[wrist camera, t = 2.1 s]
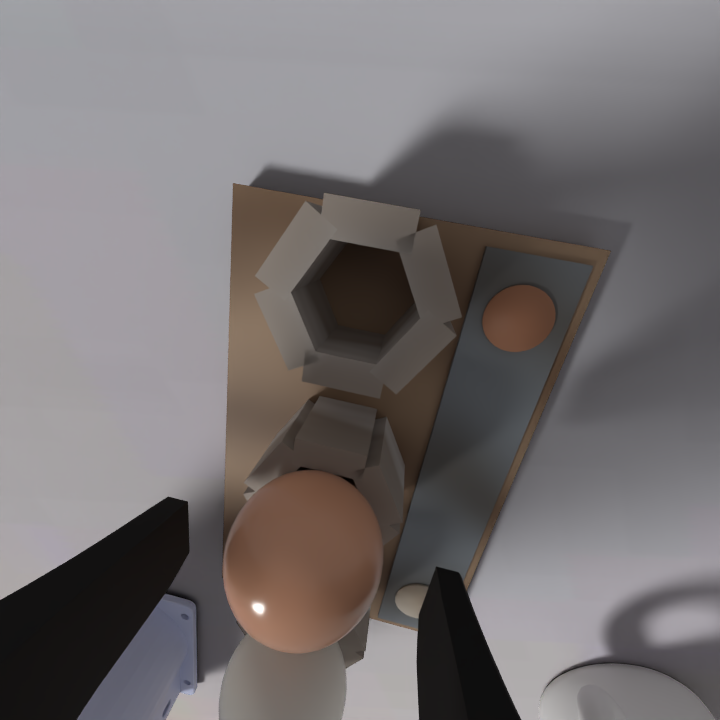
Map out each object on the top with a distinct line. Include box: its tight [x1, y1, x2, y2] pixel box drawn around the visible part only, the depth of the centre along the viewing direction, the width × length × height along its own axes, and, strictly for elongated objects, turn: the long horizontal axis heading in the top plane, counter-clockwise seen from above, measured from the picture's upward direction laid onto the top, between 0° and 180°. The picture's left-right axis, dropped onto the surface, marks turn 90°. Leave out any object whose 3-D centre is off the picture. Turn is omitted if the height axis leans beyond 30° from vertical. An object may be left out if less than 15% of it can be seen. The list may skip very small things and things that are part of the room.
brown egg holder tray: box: [222, 183, 611, 669], centre depth 13 cm, size 19×12×4 cm, turn 170°
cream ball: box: [219, 633, 347, 720], centre depth 12 cm, size 4×4×4 cm
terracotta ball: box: [223, 470, 383, 654], centre depth 10 cm, size 4×4×4 cm
